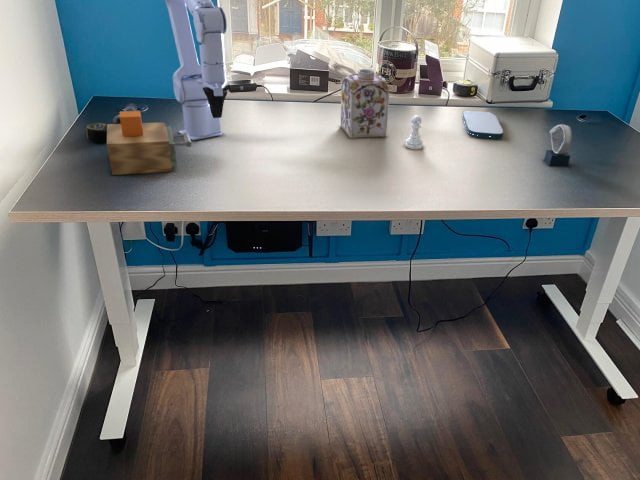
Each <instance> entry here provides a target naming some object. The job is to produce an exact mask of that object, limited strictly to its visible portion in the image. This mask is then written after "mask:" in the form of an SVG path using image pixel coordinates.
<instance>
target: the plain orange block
mask: <svg viewBox="0 0 640 480" xmlns="http://www.w3.org/2000/svg"><path fill="white" fill-rule="evenodd" d="M119 115H120V122H121V128H122V134H123V136H141V135H143V128H142V123H143V122H142V121H143V120H142V114H141V110H137V111H123V110H122V111H119Z"/></svg>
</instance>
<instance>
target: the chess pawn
mask: <svg viewBox="0 0 640 480" xmlns="http://www.w3.org/2000/svg"><path fill="white" fill-rule="evenodd" d="M421 124H422V118H421V117H420V116H419V115H414V116H413V117H411V125H410V127H411V128H412V131H411V133H410V134H409V137H408V138H407V139H405V145H404V146H405V147H406V148H408V149H410V150H420V149H422V148H423V142H424V141H423V140H422V139H421V138H420V137H421V135H420V134H419V129H420V128H422V126H421Z"/></svg>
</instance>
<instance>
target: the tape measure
mask: <svg viewBox="0 0 640 480" xmlns="http://www.w3.org/2000/svg"><path fill="white" fill-rule="evenodd" d="M107 124H108V123H102V122H96V123H89V124H87V125H86V126H85V129H84V132H85V133H84V134H85V137H86V139H88V140H89V141H91V142H97V143H99V142H107Z"/></svg>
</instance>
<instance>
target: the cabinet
mask: <svg viewBox="0 0 640 480" xmlns="http://www.w3.org/2000/svg"><path fill="white" fill-rule="evenodd" d="M106 124H107V141H106V148H107V153H108V159H109V165H110V170H111V175H112V176H117V175H135V174H150V173H151V174H152V173H167V172H168V173H169V172H173V167H172V163H171V155H170V146H169V140H168V135H167V130H166V127H167V126H166V122H165V121H164V122H163V121H162V122H142V128H143V135H141V136H123V134H122V128H121V124H114V123H106Z"/></svg>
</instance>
